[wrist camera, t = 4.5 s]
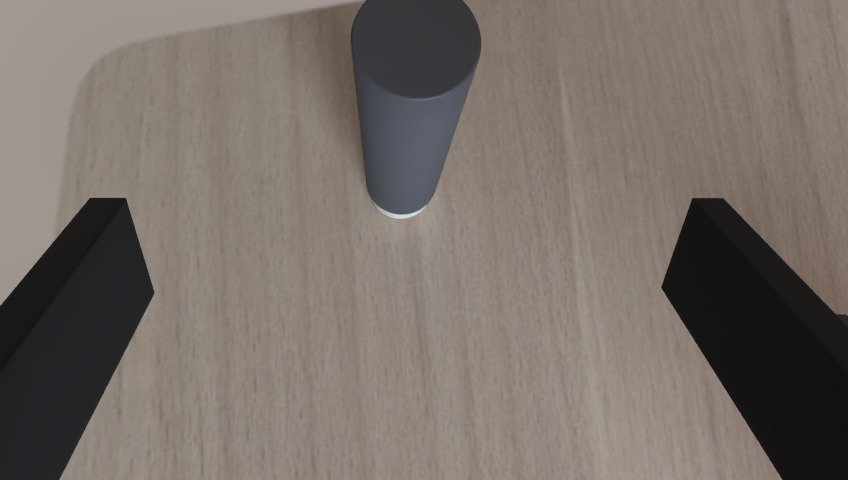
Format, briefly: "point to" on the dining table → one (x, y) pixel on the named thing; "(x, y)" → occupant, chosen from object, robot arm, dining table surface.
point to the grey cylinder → (410, 94)
